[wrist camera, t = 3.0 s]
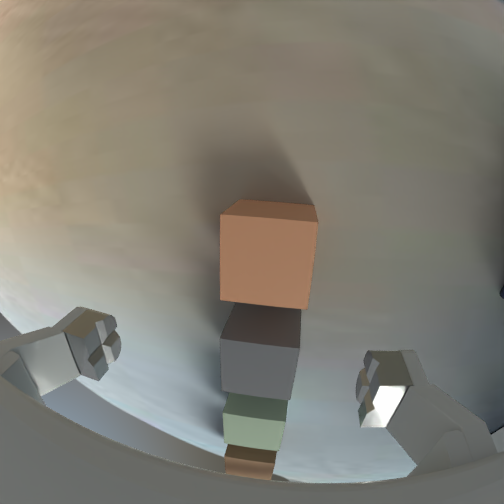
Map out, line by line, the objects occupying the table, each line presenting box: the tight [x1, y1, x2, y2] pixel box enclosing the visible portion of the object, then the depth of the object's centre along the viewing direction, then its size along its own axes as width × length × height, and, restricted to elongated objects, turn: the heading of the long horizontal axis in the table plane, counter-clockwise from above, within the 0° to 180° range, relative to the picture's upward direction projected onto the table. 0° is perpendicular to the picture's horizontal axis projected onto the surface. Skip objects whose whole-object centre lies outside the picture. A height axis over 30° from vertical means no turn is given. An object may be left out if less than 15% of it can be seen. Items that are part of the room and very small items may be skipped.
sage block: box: [223, 392, 288, 451], centre depth 23 cm, size 5×5×5 cm
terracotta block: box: [220, 199, 318, 310], centre depth 18 cm, size 5×5×5 cm
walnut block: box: [224, 444, 277, 480], centre depth 26 cm, size 5×5×5 cm
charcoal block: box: [220, 302, 301, 400], centre depth 20 cm, size 5×5×5 cm
